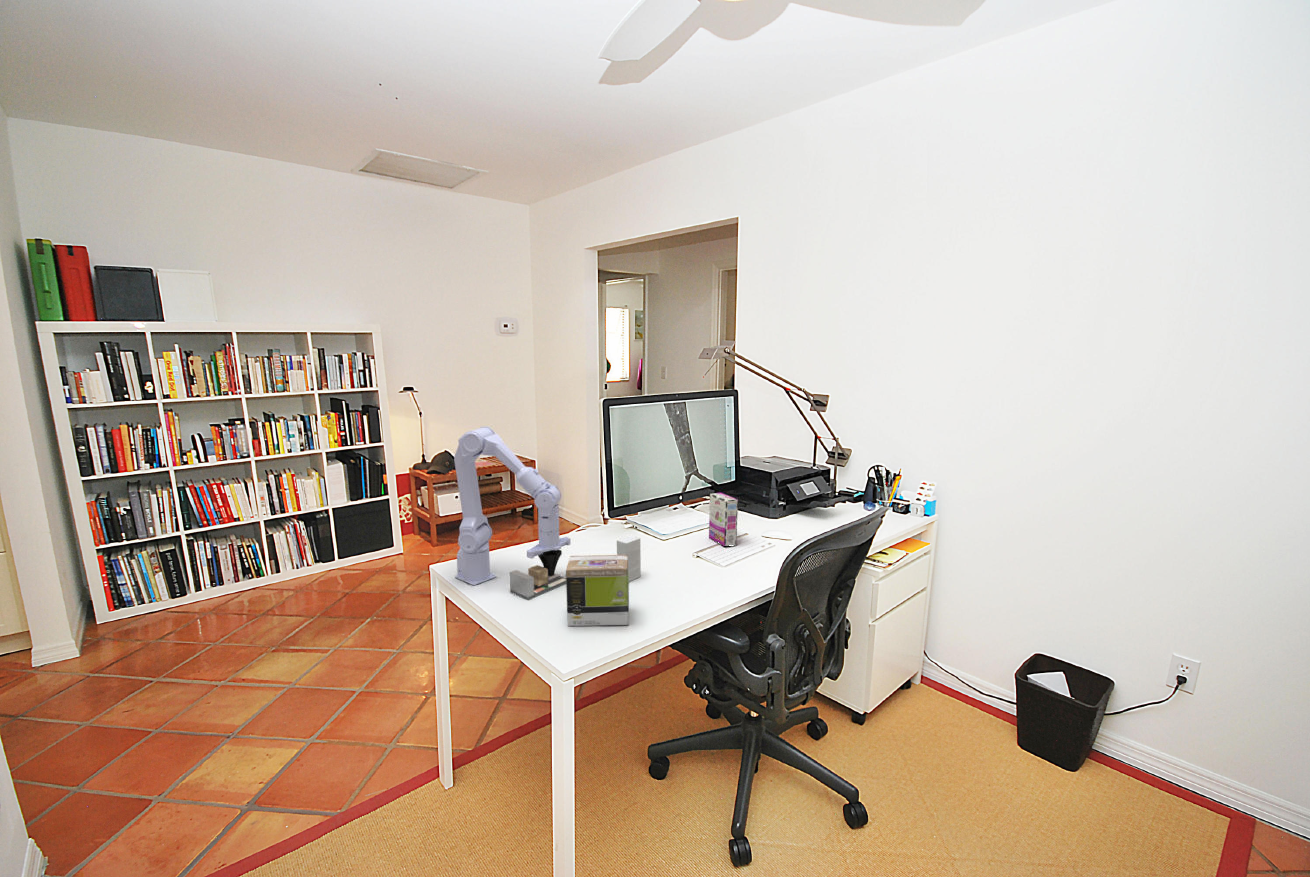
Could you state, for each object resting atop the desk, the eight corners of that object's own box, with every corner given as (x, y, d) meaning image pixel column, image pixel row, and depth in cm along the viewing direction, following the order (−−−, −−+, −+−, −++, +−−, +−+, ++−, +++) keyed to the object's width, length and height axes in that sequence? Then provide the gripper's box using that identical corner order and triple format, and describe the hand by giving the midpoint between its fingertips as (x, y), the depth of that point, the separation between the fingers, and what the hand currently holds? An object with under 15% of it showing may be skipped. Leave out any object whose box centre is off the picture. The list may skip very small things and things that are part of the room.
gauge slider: (538, 579, 162) (538, 564, 161) (553, 585, 158) (552, 570, 157) (528, 583, 159) (528, 568, 158) (543, 589, 155) (542, 574, 154)
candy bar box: (737, 546, 193) (738, 499, 191) (724, 548, 191) (726, 501, 189) (720, 536, 203) (721, 491, 201) (708, 538, 201) (709, 493, 199)
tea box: (629, 607, 148) (629, 553, 145) (628, 626, 138) (628, 568, 135) (571, 608, 147) (570, 553, 145) (566, 627, 137) (565, 569, 135)
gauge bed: (551, 575, 168) (551, 556, 167) (569, 582, 163) (569, 562, 162) (510, 592, 156) (509, 572, 155) (528, 600, 151) (527, 579, 150)
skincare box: (630, 573, 170) (630, 534, 168) (641, 576, 167) (641, 537, 165) (616, 579, 165) (616, 539, 163) (627, 583, 163) (627, 543, 161)
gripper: (538, 539, 152) (539, 587, 154) (577, 525, 163) (578, 570, 165) (521, 533, 156) (522, 580, 158) (560, 521, 167) (561, 564, 169)
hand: (550, 575), depth 162 cm, fingers closed
